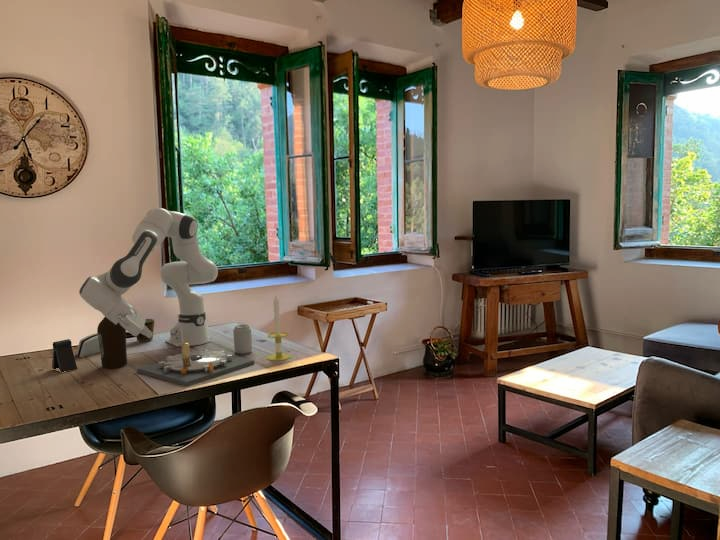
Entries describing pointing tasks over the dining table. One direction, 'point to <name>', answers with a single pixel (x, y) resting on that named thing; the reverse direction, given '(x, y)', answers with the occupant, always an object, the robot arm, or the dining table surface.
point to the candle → (278, 336)
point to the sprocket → (194, 360)
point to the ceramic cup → (150, 325)
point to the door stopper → (63, 356)
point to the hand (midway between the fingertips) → (151, 336)
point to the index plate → (195, 376)
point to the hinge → (88, 346)
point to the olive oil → (112, 344)
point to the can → (242, 339)
